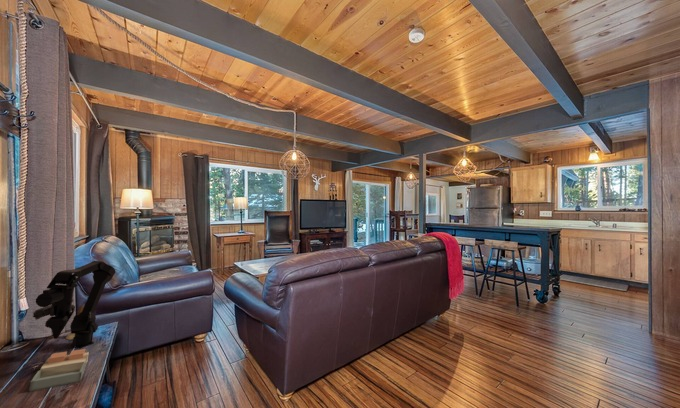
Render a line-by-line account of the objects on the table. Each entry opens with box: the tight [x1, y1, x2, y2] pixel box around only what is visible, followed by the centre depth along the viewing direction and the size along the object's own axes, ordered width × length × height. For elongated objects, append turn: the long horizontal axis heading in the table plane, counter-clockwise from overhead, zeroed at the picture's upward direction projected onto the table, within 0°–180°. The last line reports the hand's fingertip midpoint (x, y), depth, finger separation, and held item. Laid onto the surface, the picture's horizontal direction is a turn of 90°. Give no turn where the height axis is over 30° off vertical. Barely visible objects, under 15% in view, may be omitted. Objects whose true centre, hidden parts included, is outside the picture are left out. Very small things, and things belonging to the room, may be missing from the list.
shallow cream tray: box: [39, 351, 90, 378], centre depth 113 cm, size 9×13×4 cm
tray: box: [28, 363, 87, 393], centre depth 106 cm, size 8×14×4 cm, turn 125°
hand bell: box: [65, 305, 84, 341], centre depth 142 cm, size 8×8×16 cm
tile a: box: [68, 348, 86, 360], centre depth 116 cm, size 4×4×2 cm
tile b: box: [48, 351, 68, 364], centre depth 113 cm, size 4×4×2 cm
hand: (58, 334), depth 118 cm, fingers open, 9 cm apart
